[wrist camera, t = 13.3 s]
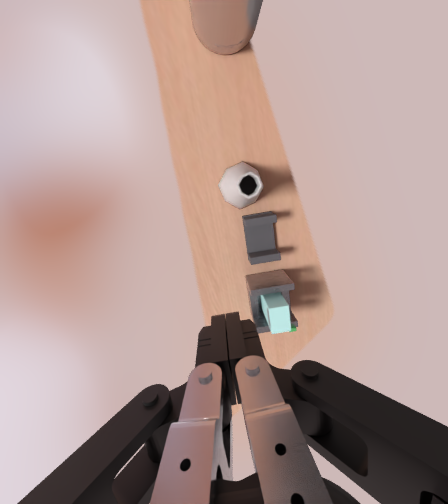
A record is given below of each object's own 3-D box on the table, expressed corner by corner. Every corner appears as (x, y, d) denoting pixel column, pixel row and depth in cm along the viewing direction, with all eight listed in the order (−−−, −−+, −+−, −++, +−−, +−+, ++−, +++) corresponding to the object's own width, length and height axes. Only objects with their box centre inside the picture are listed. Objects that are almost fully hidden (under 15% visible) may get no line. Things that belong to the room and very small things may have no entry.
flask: (271, 187, 39) (289, 186, 29) (239, 216, 40) (247, 225, 30) (242, 152, 37) (252, 140, 28) (210, 184, 38) (208, 183, 29)
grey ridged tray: (242, 216, 40) (244, 218, 37) (270, 211, 40) (276, 213, 37) (248, 259, 42) (251, 265, 39) (275, 254, 42) (281, 260, 39)
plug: (258, 286, 42) (268, 308, 34) (275, 283, 42) (289, 305, 34) (261, 308, 43) (271, 334, 36) (277, 305, 43) (291, 330, 36)
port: (245, 275, 43) (251, 292, 36) (282, 269, 43) (295, 284, 36) (251, 314, 45) (257, 337, 38) (286, 308, 45) (299, 330, 38)
